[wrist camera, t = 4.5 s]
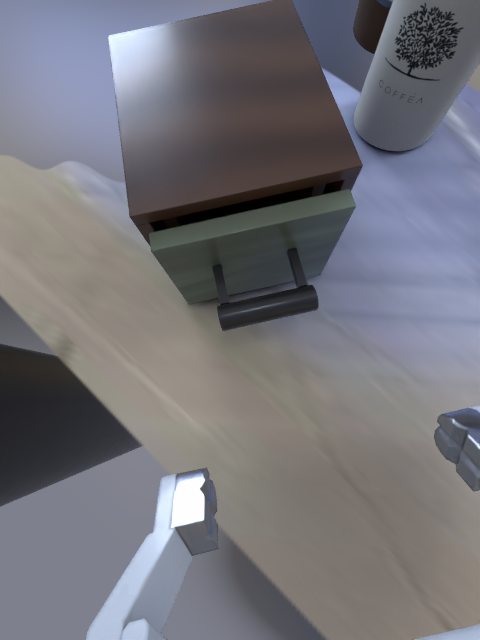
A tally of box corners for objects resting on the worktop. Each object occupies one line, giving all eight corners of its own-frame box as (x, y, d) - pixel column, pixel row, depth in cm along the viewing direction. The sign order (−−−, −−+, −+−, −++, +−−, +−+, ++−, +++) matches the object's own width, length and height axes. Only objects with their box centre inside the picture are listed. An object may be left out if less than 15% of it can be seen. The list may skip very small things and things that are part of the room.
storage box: (318, 261, 25) (363, 165, 15) (181, 291, 25) (129, 216, 14) (278, 138, 29) (290, -5, 19) (160, 164, 29) (107, 35, 18)
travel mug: (388, 83, 30) (571, -347, 13) (449, 124, 28) (761, -317, 11) (336, 122, 29) (456, -289, 12) (395, 167, 27) (644, -244, 10)
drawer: (335, 322, 22) (385, 276, 14) (197, 354, 22) (161, 326, 14) (280, 152, 27) (291, 41, 19) (166, 177, 27) (126, 77, 19)
